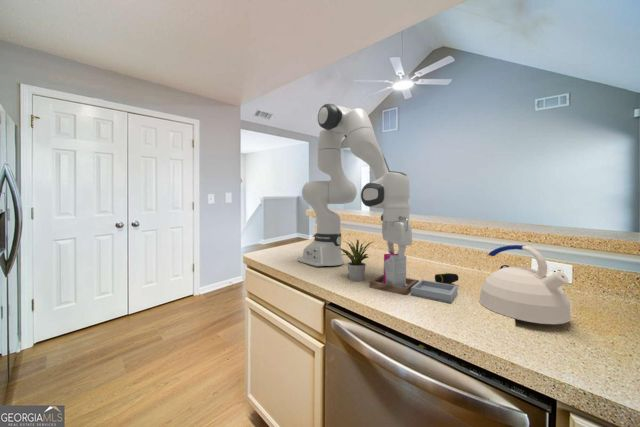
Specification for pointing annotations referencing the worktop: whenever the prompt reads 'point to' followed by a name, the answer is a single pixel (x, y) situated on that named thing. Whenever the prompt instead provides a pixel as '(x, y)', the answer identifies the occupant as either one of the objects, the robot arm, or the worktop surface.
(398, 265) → the supplement box
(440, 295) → the grey tray
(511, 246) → the kettle
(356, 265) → the house plant
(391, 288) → the brown square frame
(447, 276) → the tape measure
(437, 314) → the worktop surface
